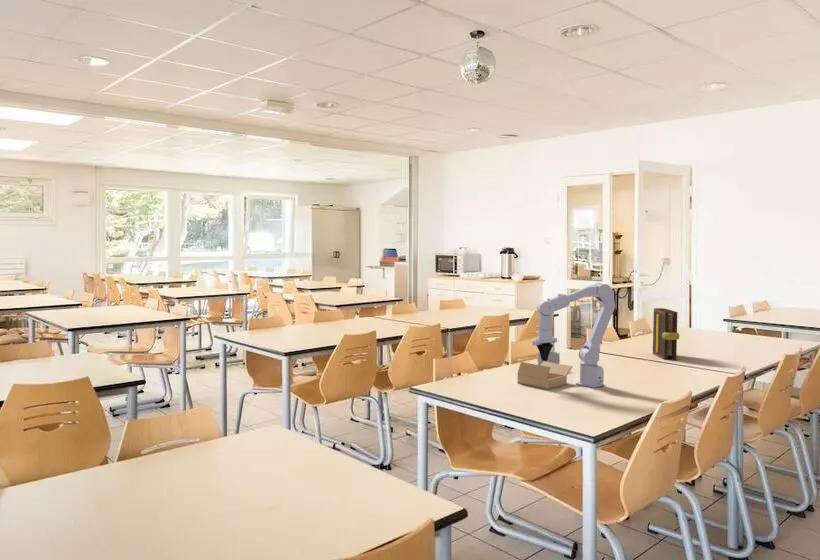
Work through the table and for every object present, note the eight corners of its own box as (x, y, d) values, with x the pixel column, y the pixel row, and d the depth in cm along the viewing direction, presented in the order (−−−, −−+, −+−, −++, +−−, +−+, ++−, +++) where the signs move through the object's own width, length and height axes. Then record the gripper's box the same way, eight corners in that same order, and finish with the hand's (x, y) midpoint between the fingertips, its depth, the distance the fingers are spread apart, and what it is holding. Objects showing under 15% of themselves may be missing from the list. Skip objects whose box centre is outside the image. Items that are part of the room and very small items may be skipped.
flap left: (517, 374, 273) (517, 373, 273) (521, 362, 275) (520, 361, 274) (546, 380, 262) (546, 379, 262) (550, 367, 263) (549, 367, 263)
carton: (566, 384, 271) (566, 375, 271) (547, 389, 262) (547, 380, 262) (536, 378, 283) (536, 369, 283) (517, 383, 274) (517, 374, 274)
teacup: (553, 372, 297) (553, 355, 297) (532, 369, 304) (532, 353, 303) (565, 367, 308) (566, 351, 308) (545, 365, 315) (545, 349, 314)
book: (649, 353, 348) (650, 308, 347) (665, 353, 348) (666, 308, 346) (664, 360, 326) (665, 312, 325) (680, 360, 326) (681, 312, 324)
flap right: (566, 375, 271) (566, 376, 271) (572, 366, 274) (572, 367, 274) (537, 370, 283) (537, 370, 283) (543, 361, 285) (543, 362, 285)
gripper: (547, 326, 277) (547, 357, 278) (526, 329, 268) (526, 361, 269) (561, 328, 272) (560, 359, 273) (540, 331, 263) (539, 363, 263)
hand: (544, 360), depth 270 cm, fingers closed
